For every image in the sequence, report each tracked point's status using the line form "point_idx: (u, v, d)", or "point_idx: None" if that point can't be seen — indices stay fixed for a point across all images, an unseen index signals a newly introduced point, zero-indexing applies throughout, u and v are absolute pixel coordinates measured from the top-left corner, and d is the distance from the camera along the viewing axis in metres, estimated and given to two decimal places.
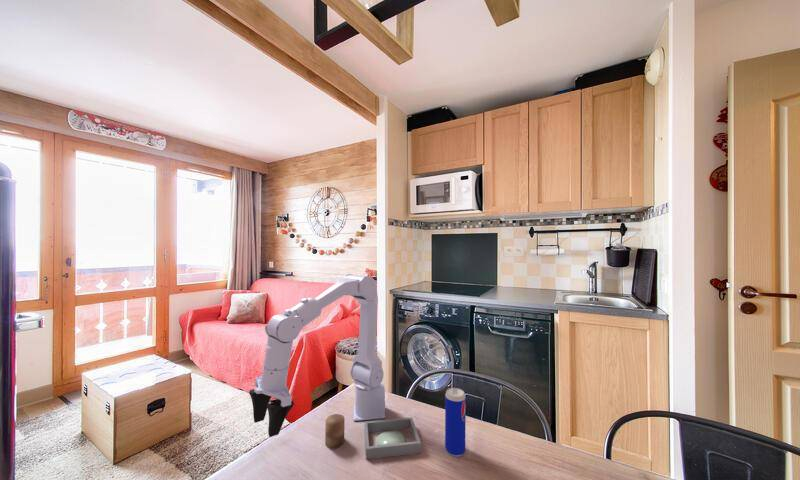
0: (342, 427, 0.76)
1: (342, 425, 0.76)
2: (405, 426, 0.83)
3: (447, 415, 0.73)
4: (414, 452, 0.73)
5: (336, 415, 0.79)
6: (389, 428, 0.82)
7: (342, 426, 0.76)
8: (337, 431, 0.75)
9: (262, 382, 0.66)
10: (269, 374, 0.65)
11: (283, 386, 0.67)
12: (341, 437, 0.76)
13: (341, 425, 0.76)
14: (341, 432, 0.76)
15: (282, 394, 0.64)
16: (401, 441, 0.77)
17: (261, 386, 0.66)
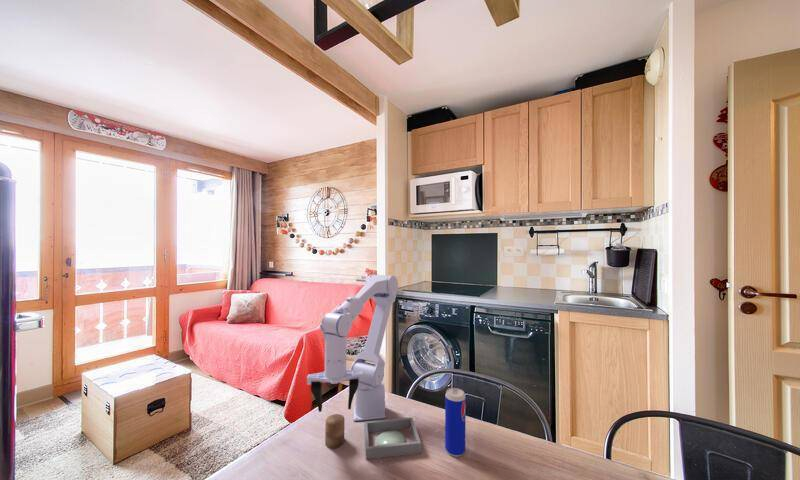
0: (342, 427, 0.76)
1: (342, 425, 0.76)
2: (405, 426, 0.83)
3: (447, 415, 0.73)
4: (414, 452, 0.73)
5: (336, 415, 0.79)
6: (389, 428, 0.82)
7: (342, 426, 0.76)
8: (337, 431, 0.75)
9: (335, 373, 0.74)
10: (341, 364, 0.75)
11: None
12: (341, 437, 0.76)
13: (341, 425, 0.75)
14: (341, 432, 0.76)
15: (354, 374, 0.78)
16: (401, 441, 0.77)
17: (334, 377, 0.74)
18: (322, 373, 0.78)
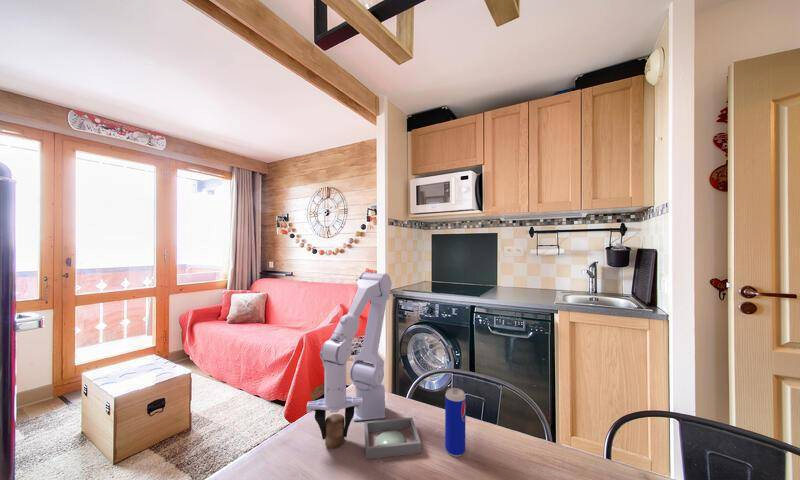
0: (342, 427, 0.76)
1: (342, 425, 0.76)
2: (405, 426, 0.83)
3: (447, 415, 0.73)
4: (414, 452, 0.73)
5: (336, 415, 0.79)
6: (389, 428, 0.82)
7: (342, 426, 0.76)
8: (337, 431, 0.75)
9: (335, 402, 0.74)
10: (341, 392, 0.75)
11: None
12: (341, 437, 0.76)
13: (341, 425, 0.75)
14: (341, 432, 0.76)
15: (354, 401, 0.78)
16: (401, 441, 0.77)
17: (334, 405, 0.74)
18: (322, 400, 0.78)
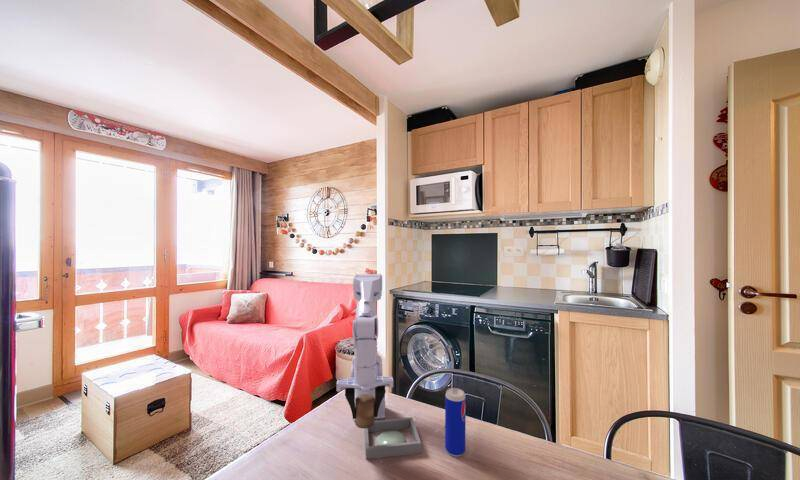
0: (373, 406, 0.74)
1: (373, 404, 0.74)
2: (405, 426, 0.83)
3: (447, 415, 0.73)
4: (414, 452, 0.73)
5: (365, 395, 0.76)
6: (389, 428, 0.82)
7: (373, 405, 0.74)
8: (368, 410, 0.72)
9: (366, 380, 0.72)
10: (372, 370, 0.73)
11: None
12: (372, 417, 0.73)
13: (372, 404, 0.73)
14: (372, 411, 0.73)
15: (384, 380, 0.75)
16: (401, 441, 0.77)
17: (365, 383, 0.72)
18: (351, 379, 0.76)
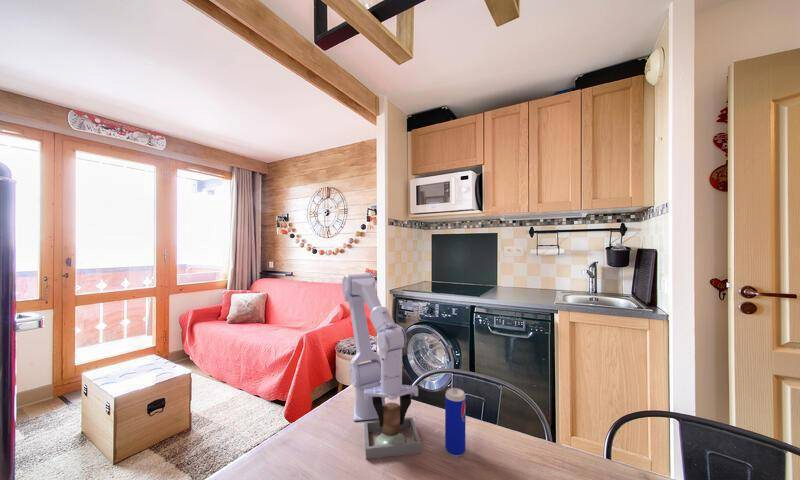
0: (399, 415, 0.76)
1: (399, 413, 0.76)
2: (405, 426, 0.83)
3: (447, 415, 0.73)
4: (414, 452, 0.73)
5: (391, 403, 0.79)
6: None
7: (399, 414, 0.76)
8: (395, 418, 0.75)
9: (393, 389, 0.75)
10: (398, 379, 0.76)
11: None
12: (399, 425, 0.76)
13: (398, 412, 0.76)
14: (398, 419, 0.76)
15: (409, 388, 0.78)
16: (401, 441, 0.77)
17: (392, 392, 0.75)
18: (377, 388, 0.79)
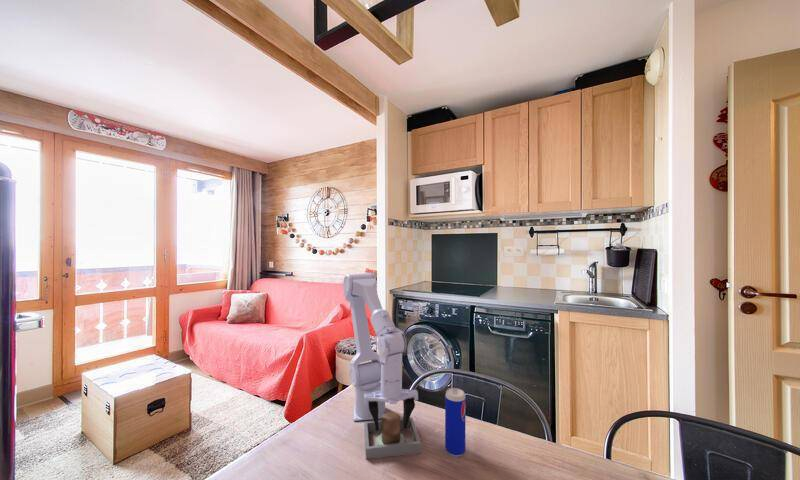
0: (399, 425, 0.76)
1: (399, 423, 0.76)
2: None
3: (447, 415, 0.73)
4: (414, 452, 0.73)
5: (391, 413, 0.79)
6: None
7: (399, 424, 0.76)
8: (394, 428, 0.75)
9: (393, 393, 0.75)
10: (398, 384, 0.76)
11: None
12: (398, 435, 0.76)
13: (398, 422, 0.76)
14: (398, 429, 0.76)
15: (409, 393, 0.78)
16: (401, 441, 0.77)
17: (392, 397, 0.75)
18: (377, 392, 0.79)
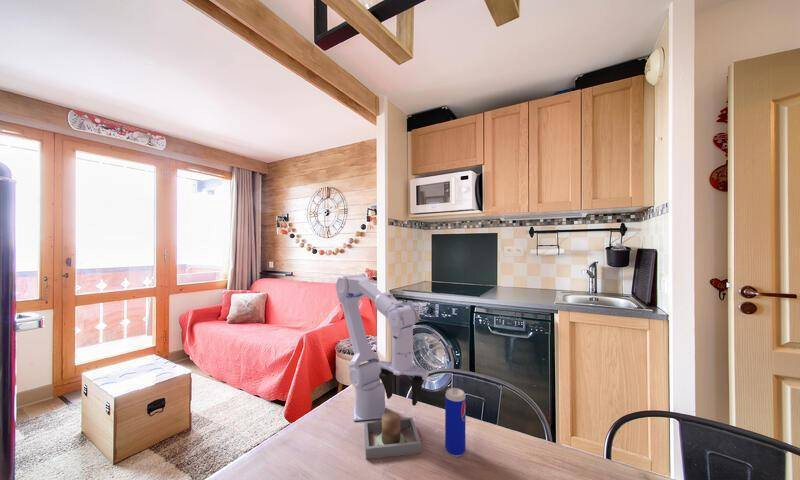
0: (399, 425, 0.76)
1: (399, 423, 0.76)
2: (405, 426, 0.83)
3: (447, 415, 0.73)
4: (414, 452, 0.73)
5: (391, 413, 0.79)
6: None
7: (399, 423, 0.76)
8: (394, 428, 0.75)
9: (398, 365, 0.76)
10: (404, 358, 0.76)
11: (412, 365, 0.79)
12: (398, 435, 0.76)
13: (398, 422, 0.76)
14: (398, 429, 0.76)
15: (419, 371, 0.77)
16: (401, 441, 0.77)
17: (398, 369, 0.76)
18: None
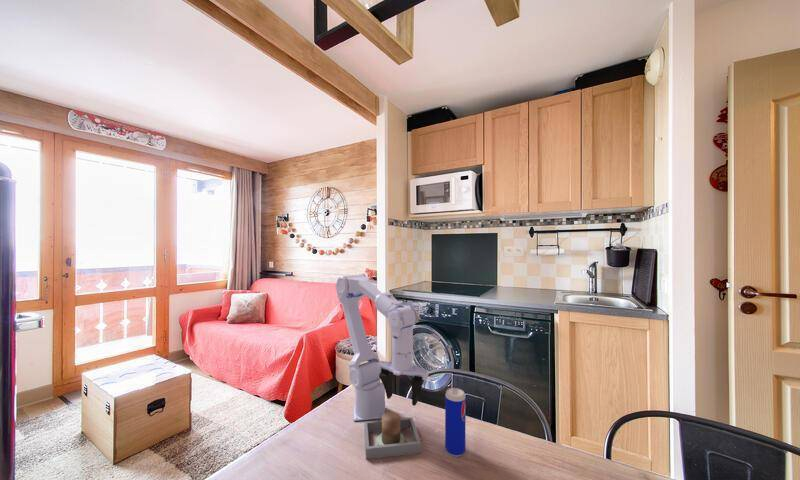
0: (399, 425, 0.76)
1: (399, 423, 0.76)
2: (405, 426, 0.83)
3: (447, 415, 0.73)
4: (414, 452, 0.73)
5: (391, 413, 0.79)
6: None
7: (399, 424, 0.76)
8: (394, 428, 0.75)
9: (398, 365, 0.76)
10: (404, 358, 0.76)
11: (412, 365, 0.79)
12: (398, 435, 0.76)
13: (398, 422, 0.76)
14: (398, 429, 0.76)
15: (419, 371, 0.77)
16: (401, 441, 0.77)
17: (398, 369, 0.76)
18: None
